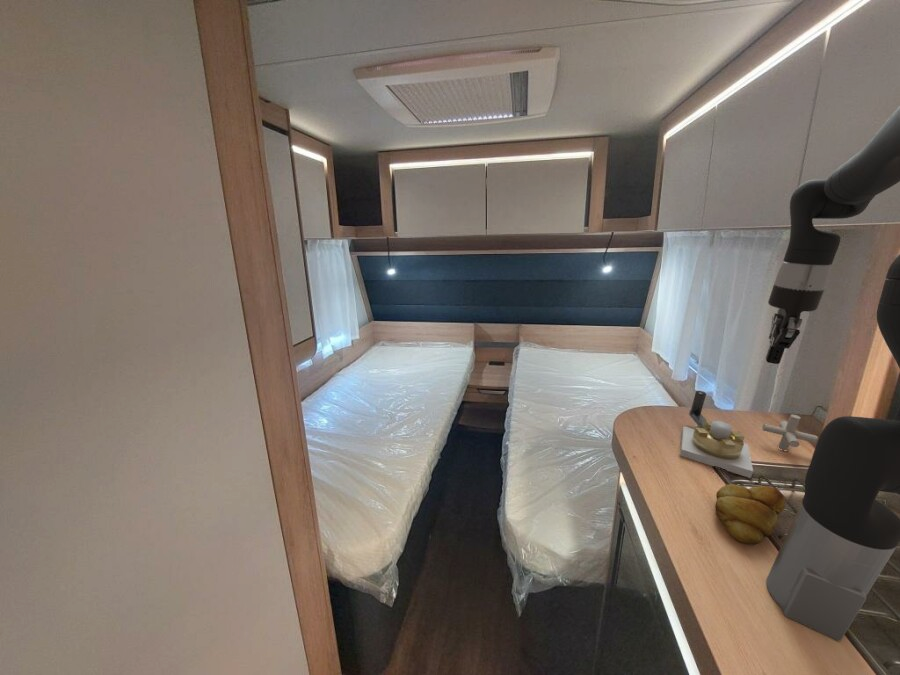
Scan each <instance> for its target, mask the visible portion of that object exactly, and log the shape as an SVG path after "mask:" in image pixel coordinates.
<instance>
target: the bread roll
mask: <svg viewBox="0 0 900 675" xmlns="http://www.w3.org/2000/svg"><path fill="white" fill-rule="evenodd" d="M715 496H716V498H715V499H716V501H715V503H714V504H715V505H714V511H715V513H716V515H717V517H718V518H719V520H720V521H721V522H722V523H723V524H724V526H725V528H726V529H727V532H729V534H730V535H731V536H732V537H733V538H734V539H736V540H737V541H739V542H741V543H742V544H746V545H756V544H758V543H760V542H762V541H763V539H764V538H766V537H770V536H771V535H773V533H774V531H775V530H776V526H777V525H778V520H779V515H780V514H781V513H782V512H783V511H784V510H785V506H786V504H787V503H786V498H785V496H784V495H783V493H782V492H781V491H780V490H779V489H777V488H776V487H773V486H767V485H761V486H752V487H749V488H747V487H746V486H744V485H738V484H733V483H732V484H724V485H723V486H722V487H721V488H719V489H718V491H716V495H715Z"/></svg>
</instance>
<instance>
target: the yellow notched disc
mask: <svg viewBox="0 0 900 675" xmlns="http://www.w3.org/2000/svg"><path fill="white" fill-rule="evenodd" d="M706 396H707V392H705V391H702V390H696V391H695V394H694V397H693V400H692V405H691V408H690V410H689V413H688V416H689V417H690V418H691V419H692V420H693V422H695V424H696V425H697V426H695V427H694V429H695V430H694V433H693V437H692V442H693V443H694V445H695V446H696V447H697V448H699V449H700V450H702V451H703V452H705V453H707V454H709V455H712V456H715V457H718V458H723V459H736V458H738V457H739V456H740V454H741V451H742V448H743V446H744V443H745V442H744V440H745V435H743V434H742V432H740V431H734V430H733V431H732V430H731V433H730V436H729V439H728V440H726V439H722V440H719V439H716V438H714V437H712V436H711V435H710V434H709V431H710V427H711V424H712V422H713V421H714V420H708V419H706V418H705V417H704V415H702V411H703V407H704V404H705V400H706Z"/></svg>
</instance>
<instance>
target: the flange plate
mask: <svg viewBox="0 0 900 675" xmlns="http://www.w3.org/2000/svg"><path fill="white" fill-rule="evenodd" d="M712 421H713V422H712V424H711V427H710V431H709V434H710V435H711V436H712V437H714V438H716V439H719V440H722V439H726V440H728V439H729V436H730V433H731V431H732V430H733V428H732V426H731V424H728V423H727V422H724V421H721V420H712ZM694 430H695V428H692V427H688V426H683V427H682V431H681V441H680V449H679V450H680V452H679V456H680V457H683V458H685V459H688V460H691V461H695V462H699V463H701V464H705V465H708V466H711V467H714V466H718V467H721V468H723V469H726V470H727V471H726V470H725V471H726V472H730V473H733V474H737V475H740V476H743V477H745V478H749V479H751V478H752V476H753V473H754V468H753V464H752V463H753V461H752V459H751V454H750V453H751V452H750V448H749V444H748V443H745V442H744V446H743V448H742V451H741V454H740V456H739V457H738V458H736V459H723V458H718V457H715V456H712V455H709V454H707V453H705V452H703V451H702V450H700V449H699V448H697V447H696V446H695V445H694V443H693V442H692V437H693V433H694ZM723 469H722V470H723Z"/></svg>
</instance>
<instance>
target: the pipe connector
mask: <svg viewBox="0 0 900 675" xmlns="http://www.w3.org/2000/svg"><path fill="white" fill-rule="evenodd" d="M800 420H801V417H800V416H799V415H796V414H790V417H789V418H788V421H787V420H781V421H780V422H779V424H778V425H779V426H780V427H779V426H776V425H772V424H771V425H770V424H767V423H763V424H762V431H763V432H767V433H768V432H769V433H770V434H771V433H772V434H776V435H780V436H781V439H780V441H779V444H778V446H777V448H778V447H779V448H780V449H782V450H787V451H788V450H789V448H790V447H792V448H798V447H799V446H800V442H799V440H802V441H806V442H809V443H813V444H817V442H818V439H819V437H818V436H817V435H814V434H810V433H807V432H802V431H798V430H797V428H798V426H799V423H800Z"/></svg>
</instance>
